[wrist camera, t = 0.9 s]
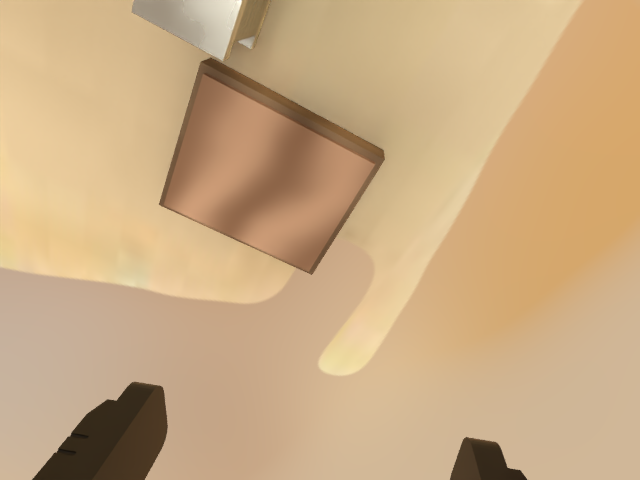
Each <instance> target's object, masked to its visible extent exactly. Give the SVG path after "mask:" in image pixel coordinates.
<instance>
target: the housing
mask: <svg viewBox="0 0 640 480" xmlns="http://www.w3.org/2000/svg"><path fill="white" fill-rule="evenodd" d="M270 2H271V0H134V2H133V7H132V13H134V14H136V15H138V16H140V17H142V18H144V19H146V20H147V21H149V22H151V23H153V24H155V25H157V26H159V27H160V28H162V29H164V30H166V31H168V32H170V33H172V34H173V35H175V36H177V37H179V38H181V39H183V40H185V41H186V42H188V43H190V44H192V45H194V46H196V47H198V48H199V49H201V50H203V51H205V52H207V53H209V54H211V55H212V56H214V57H216V58H218V59H220V60H222V61H224V60H226V59H228V58H229V55H230V52H231V49H232V46H233V43H234V42H239V43H241V44H243V45H244V46H246V47H248V48H250V49H252V48H254V47H255V44H256V41H257V38H258V35H259V33H260V30H261V27H262V24H263V22H264V19H265V16H266V13H267V10H268V8H269V5H270Z"/></svg>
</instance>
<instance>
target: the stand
mask: <svg viewBox="0 0 640 480" xmlns="http://www.w3.org/2000/svg"><path fill="white" fill-rule="evenodd" d="M384 160H385V159H384V151H383V150H382V149H380V148H378V147H376V146H374V145H373V144H371V143H369V142H367V141H365V140H363V139H361V138H359V137H358V136H356V135H354V134H352V133H350V132H348V131H346V130H345V129H343V128H341V127H339V126H337V125H335V124H333V123H332V122H330V121H328V120H326V119H324V118H322V117H320V116H318V115H317V114H315V113H313V112H311V111H309V110H307V109H305V108H304V107H302V106H300V105H298V104H296V103H294V102H292V101H290V100H289V99H287V98H285V97H283V96H281V95H279V94H277V93H276V92H274V91H272V90H270V89H268V88H266V87H264V86H262V85H261V84H259V83H257V82H255V81H253V80H251V79H249V78H248V77H246V76H244V75H242V74H240V73H238V72H236V71H235V70H233V69H231V68H229V67H227V66H225V65H223V64H221V63H220V62H218V61H216V60H214V59H212V58H209V59H207V60H204V61H201V63H200V66H199V70H198V73H197V76H196V80H195V83H194V87H193V90H192V93H191V97H190V100H189V104H188V107H187V111H186V114H185V117H184V121H183V124H182V128H181V131H180V134H179V138H178V141H177V145H176V148H175V152H174V155H173V158H172V162H171V165H170V169H169V172H168V175H167V179H166V182H165V186H164V189H163V192H162V196H161V199H160V203H159V205H161V206H163V207H165V208H167V209H169V210H172V211H174V212H176V213H178V214H180V215H182V216H185V217H187V218H189V219H191V220H193V221H196V222H198V223H200V224H202V225H204V226H207V227H209V228H211V229H213V230H215V231H217V232H220V233H222V234H224V235H226V236H228V237H231V238H233V239H235V240H237V241H239V242H241V243H244V244H246V245H248V246H250V247H252V248H255V249H257V250H259V251H261V252H263V253H266V254H268V255H270V256H272V257H274V258H276V259H279V260H281V261H283V262H285V263H287V264H290V265H292V266H294V267H296V268H299V269H301V270H303V271H305V272H307V273H309V274H311V275H312V274H313V272H314V271H315V269H316V268H317V266H318V264H319V263H320V261H321V259H322V258H323V257H324V255H325V253H326V252H327V250H328V249H329V247H330V245H331V244H332V242H333V241H334V239H335V237H336V236H337V234H338V233H339V231H340V230H341V228H342V226H343V225H344V223H345V222H346V220H347V218H348V217H349V215H350V214H351V212H352V211H353V209H354V207H355V206H356V204H357V203H358V201H359V199H360V198H361V196H362V195H363V193H364V191H365V190H366V188H367V187H368V185H369V184H370V182H371V180H372V179H373V177H374V176H375V174H376V172H377V171H378V169H379V168H380V166H381V165H382V163H383V161H384Z"/></svg>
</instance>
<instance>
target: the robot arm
mask: <svg viewBox="0 0 640 480" xmlns="http://www.w3.org/2000/svg"><path fill="white" fill-rule="evenodd" d="M167 426H168V425H167V415H166V406H165V397H164V390H163V387H161V386H157V385H151V384H145V383H139V382H132V383H131V384H130V385H129V386H128V387H127V388H126V389H125V391H124V392H123V393H122V395H121V396H120V397H119V398H118V400H117V401H114V400H106V401H105V402H103V403H102V404H101V405H99V406H98V407H96V408H95V409H93V410H92V411H91V412H89V413H88V414H87V415H86V416H85V417H84V418H83V419H82V421H81V422H80V423H79V424H78V425H77V427H76V428H75V429H74V430H73V432H72V433H71V436H70V437H67V439H66V440H65V441H64V442H63V443H62V445H61V446H60V447H59V448H58V451H57V453H54V454H53V456H52V457H51V458H50V459H49V460H48V461H47V463H46V464H45V465H44V466H43V468H42V469H41V470H40V471H39V472H38V473H37V475H36V476H35V477H34V478H33V479H32V480H145V478H146V476H147V474H148V472H149V471H150V469H151V467H152V465H153V463H154V462H155V460H156V458H157V456H158V454H159V452H160V451H161V449H162V447H163V444H164V441H165V438H166V434H167ZM450 480H527V479H526V477H525V476H524V475H523V473H522V472H521V471H520V470H515V469H509V468H507V465H506V462H505V459H504V456H503V454H502V450H501V448H500V446H499V445H498V444H497V443H496V442H491V441H485V440H480V439H474V438H468V437H466V438H464V440H463V442H462V445H461V448H460V450H459V453H458V456H457V459H456V462H455V465H454V468H453V471H452V474H451V478H450Z"/></svg>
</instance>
